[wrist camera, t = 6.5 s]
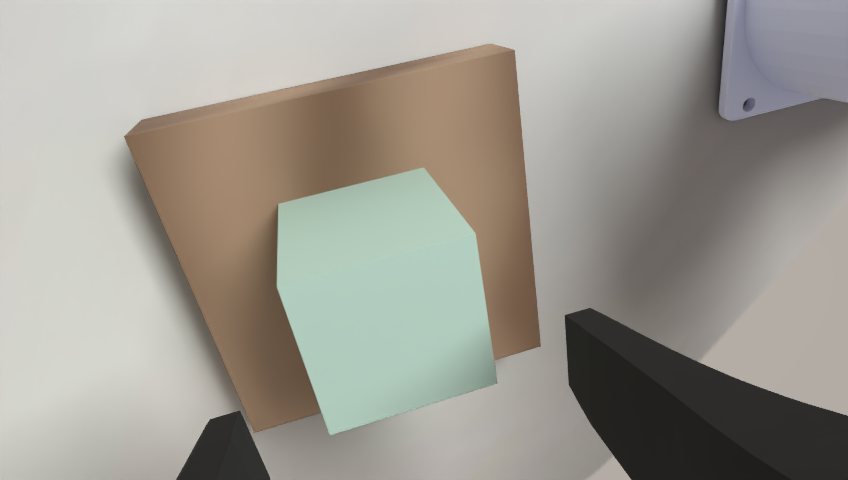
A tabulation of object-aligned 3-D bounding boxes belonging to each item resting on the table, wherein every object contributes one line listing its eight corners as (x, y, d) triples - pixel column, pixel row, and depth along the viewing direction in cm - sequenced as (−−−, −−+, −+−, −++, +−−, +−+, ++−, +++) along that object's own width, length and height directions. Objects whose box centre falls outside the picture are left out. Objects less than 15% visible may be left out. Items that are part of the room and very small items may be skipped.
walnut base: (491, 43, 17) (514, 50, 16) (520, 317, 22) (540, 346, 21) (141, 119, 16) (124, 136, 14) (256, 395, 21) (254, 432, 19)
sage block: (424, 167, 16) (475, 233, 12) (446, 289, 19) (497, 383, 14) (278, 203, 16) (276, 286, 11) (318, 325, 18) (329, 435, 14)
